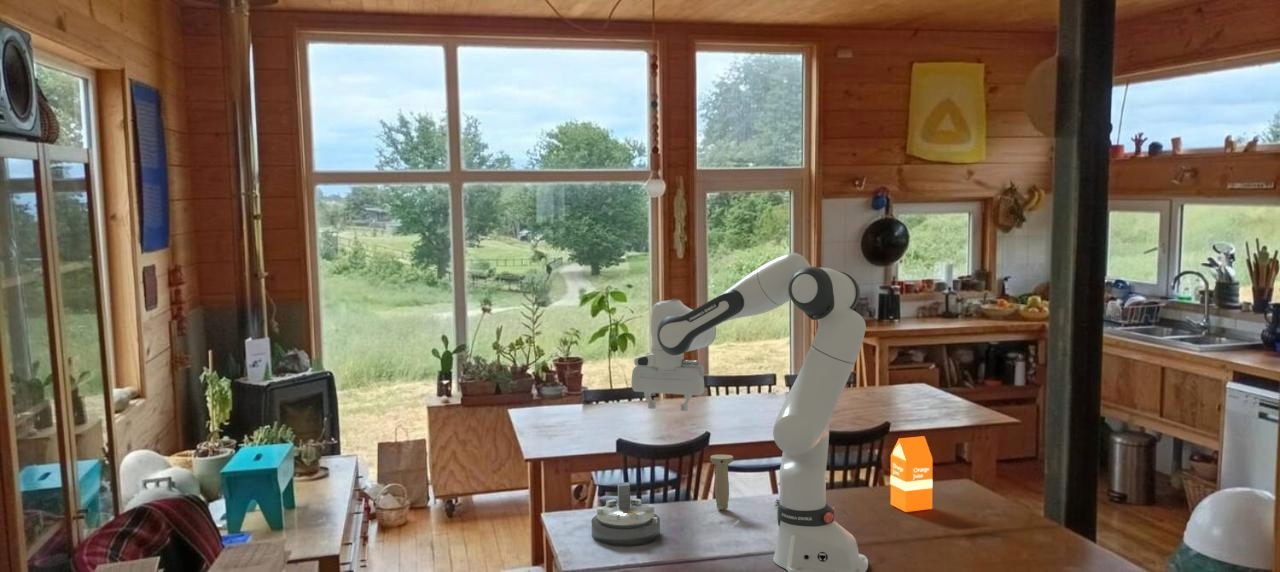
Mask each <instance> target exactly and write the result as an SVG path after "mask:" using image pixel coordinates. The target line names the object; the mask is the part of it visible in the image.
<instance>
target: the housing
mask: <svg viewBox="0 0 1280 572" xmlns="http://www.w3.org/2000/svg"><path fill="white" fill-rule="evenodd" d="M660 519H661V518H660V517H659V515H658V514H655V513H654V517H653V522H651V523H650V524H648V525H645V526H641V527H636V528H612V527H607V526H604V525H602V524H600V523H599V522H598V521H597V514H596V515H594V516H593V517H592V518H591V537H592V539H593V540H594V541H596V542H598V543H601V544H604V545H607V546H614V547H625V548H627V547H629V548H630V547H639V546H644V545H648V544H649V545H650V544H651V543H653V542H656V541H657V540H658V539H660V537H661V520H660Z"/></svg>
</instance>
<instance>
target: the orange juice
mask: <svg viewBox="0 0 1280 572" xmlns="http://www.w3.org/2000/svg"><path fill="white" fill-rule="evenodd" d="M890 505H891V506H893V507H896V508H897V509H898V510H901V511H903V512H905V513H908V512H909V513H910V512H916V511H924V510H932V509H933V456H932V453H931V451H930V447H929V445H928V442H927V439H926V436H924V435H923V436H922V435H921V436H911V437H910V436H909V437H902V438H901V437H899V438H898V440H897V442H896V444H895V445H894V447H893V450H892V452H891V454H890Z"/></svg>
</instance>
